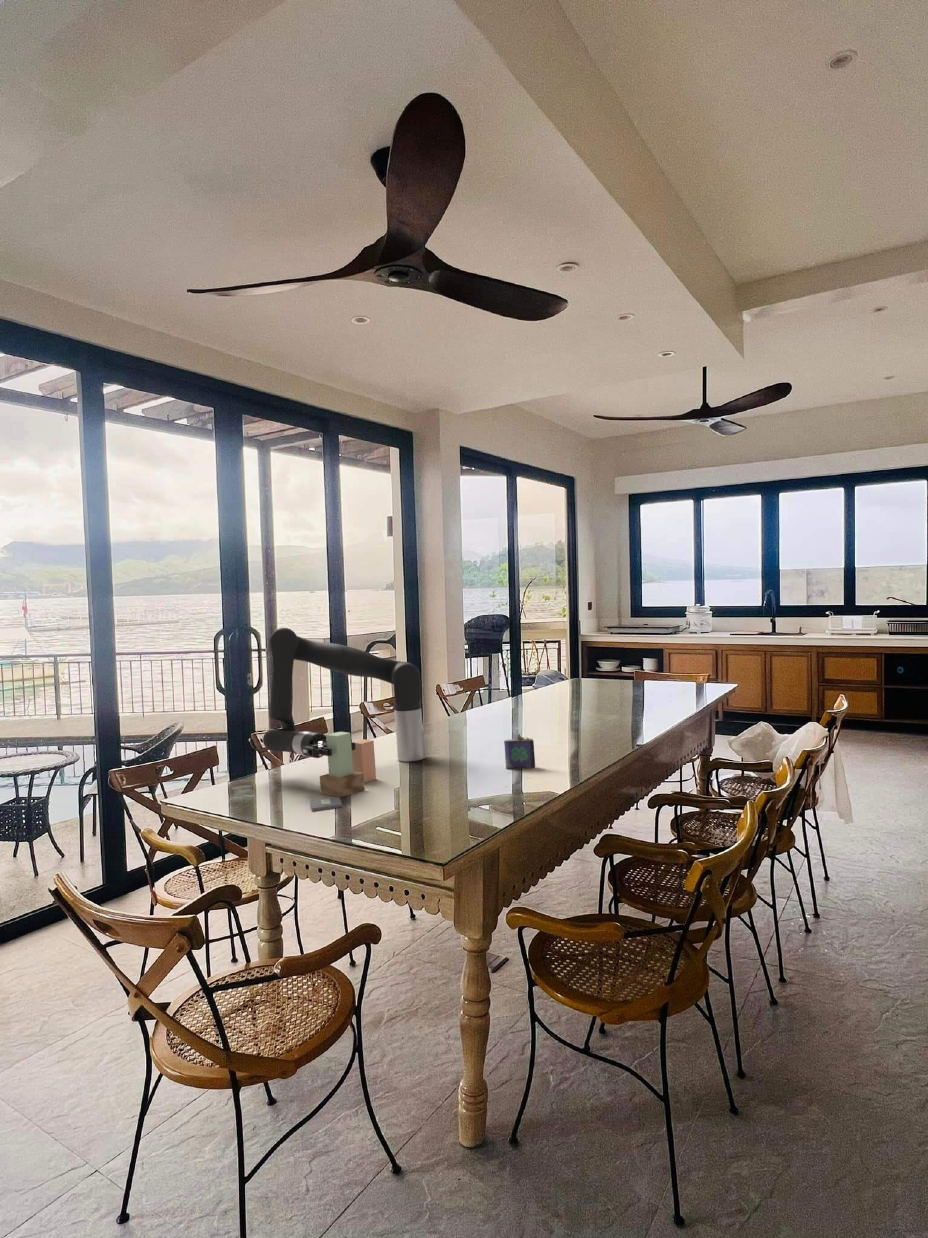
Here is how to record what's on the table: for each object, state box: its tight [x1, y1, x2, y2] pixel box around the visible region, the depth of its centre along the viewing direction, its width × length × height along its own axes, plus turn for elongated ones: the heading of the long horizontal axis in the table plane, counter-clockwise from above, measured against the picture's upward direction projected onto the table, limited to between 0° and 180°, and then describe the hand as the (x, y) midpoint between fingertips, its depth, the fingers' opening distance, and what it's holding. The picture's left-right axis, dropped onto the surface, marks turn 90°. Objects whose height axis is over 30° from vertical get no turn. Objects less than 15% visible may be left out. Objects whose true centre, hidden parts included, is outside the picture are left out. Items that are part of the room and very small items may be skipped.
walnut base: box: [319, 771, 365, 798], centre depth 209 cm, size 9×9×5 cm
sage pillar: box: [325, 731, 353, 778], centre depth 209 cm, size 5×5×12 cm
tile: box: [309, 796, 343, 812], centre depth 196 cm, size 8×8×1 cm
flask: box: [503, 732, 536, 770], centre depth 222 cm, size 9×3×11 cm, turn 79°
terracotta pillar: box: [352, 738, 377, 784], centre depth 221 cm, size 5×5×12 cm
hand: (343, 749), depth 207 cm, fingers open, 8 cm apart
